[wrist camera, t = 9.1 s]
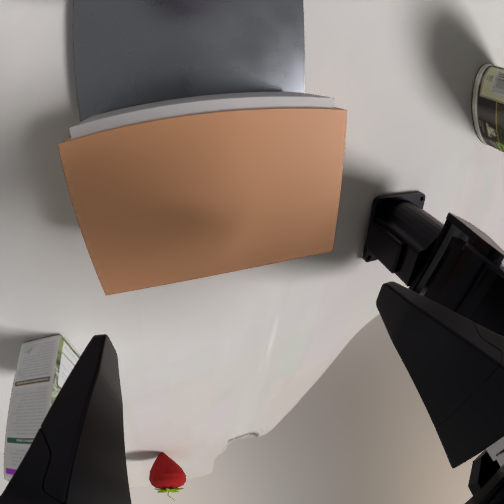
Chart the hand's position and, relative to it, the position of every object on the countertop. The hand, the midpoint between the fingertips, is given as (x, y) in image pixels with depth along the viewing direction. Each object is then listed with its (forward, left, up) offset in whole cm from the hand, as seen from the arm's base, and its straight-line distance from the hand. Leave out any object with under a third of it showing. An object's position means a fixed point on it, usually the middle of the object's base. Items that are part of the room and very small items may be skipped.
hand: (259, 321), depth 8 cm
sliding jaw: (0, -2, -11) cm, 11 cm away
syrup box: (+17, +14, -12) cm, 25 cm away
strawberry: (+15, +47, -12) cm, 51 cm away
